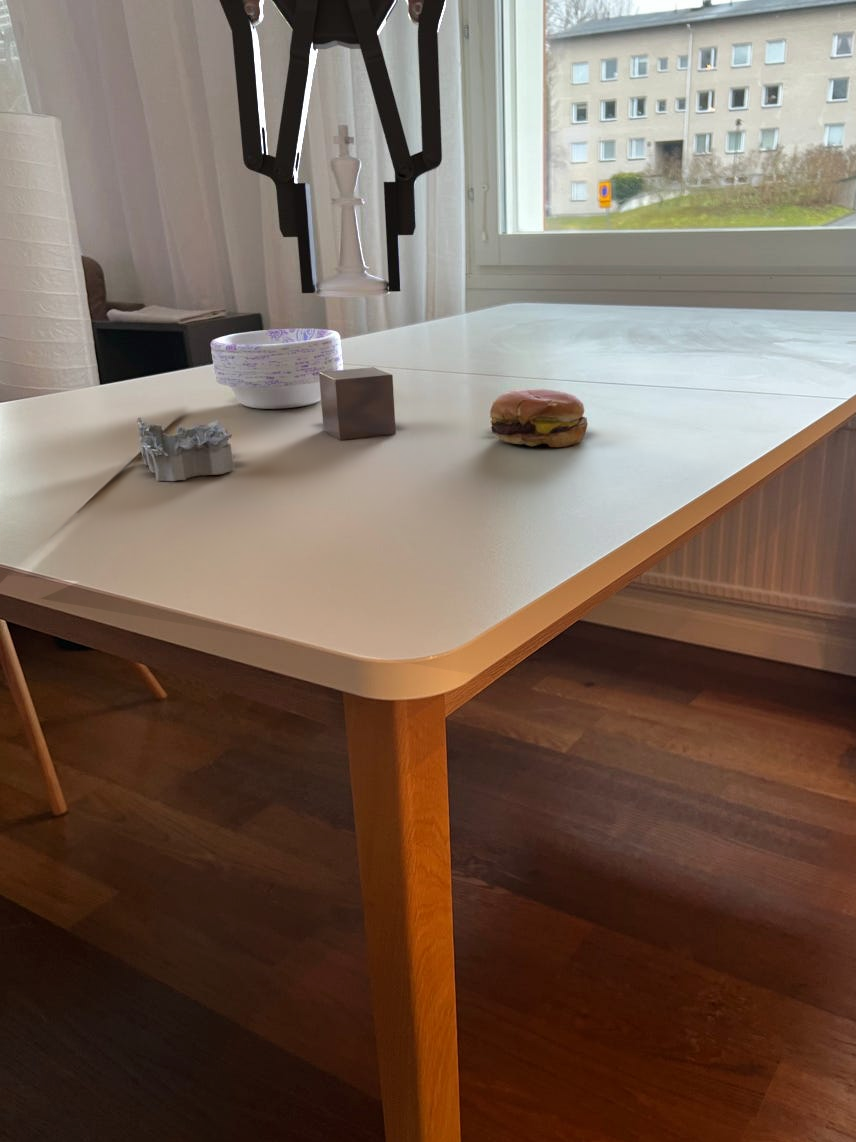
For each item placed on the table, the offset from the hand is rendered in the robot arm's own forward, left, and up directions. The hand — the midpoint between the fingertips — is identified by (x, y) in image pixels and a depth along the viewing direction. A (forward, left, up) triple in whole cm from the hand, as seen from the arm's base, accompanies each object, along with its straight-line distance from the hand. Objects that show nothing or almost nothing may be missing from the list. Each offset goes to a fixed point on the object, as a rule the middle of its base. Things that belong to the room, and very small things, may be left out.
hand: (352, 290), depth 66 cm
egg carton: (-17, +21, -17) cm, 32 cm away
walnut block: (-2, +34, -16) cm, 38 cm away
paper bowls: (-12, +53, -17) cm, 57 cm away
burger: (+16, +27, -17) cm, 36 cm away
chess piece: (0, 0, 0) cm, 0 cm away
